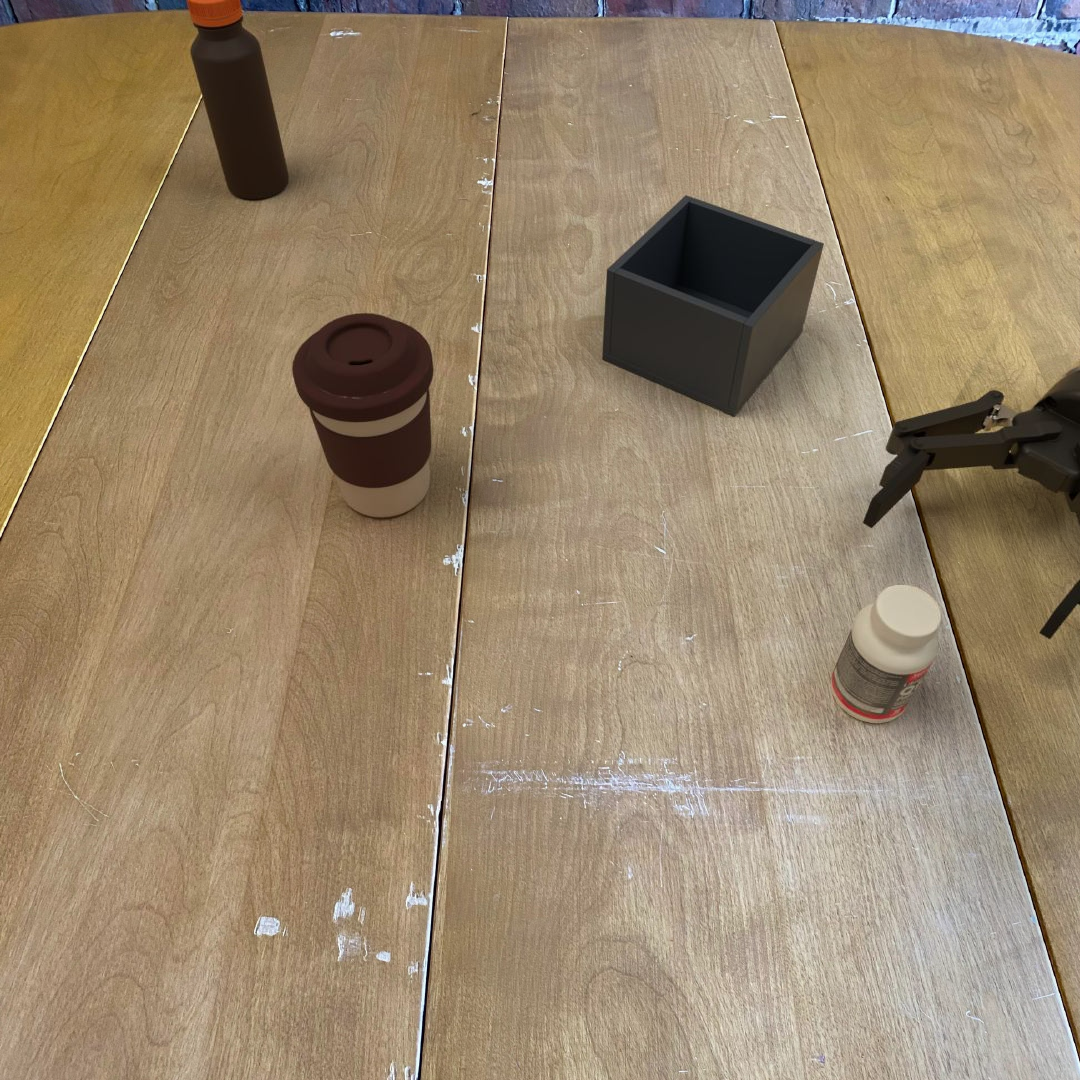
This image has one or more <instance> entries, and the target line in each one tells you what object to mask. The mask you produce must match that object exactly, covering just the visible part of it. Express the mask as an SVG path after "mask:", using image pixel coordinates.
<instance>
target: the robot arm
mask: <svg viewBox="0 0 1080 1080" xmlns="http://www.w3.org/2000/svg"><path fill="white" fill-rule="evenodd" d="M1004 399H1005V395H1004V394H1003V392H1002V391H1000V390H997V389H991V390H988V391H987V392H986V393H984V394H983V395H982V396H980V397H979V398H978V399H977V400H973V401H970V402H969V401H968V402H966V403H962V404H959V405H954V406H951V407H947V408H943V409H940V410H936V411H932V412H928V413H924V414H920V415H917V416H913V417H910V418H909V417H908V418H906V419H902V420H897V421H896V422H895V423H894V424H893V426H892V429H891V432H890V434H889V437H888V440H887V443H886V445H885V450H886V452H887V453H888V454H889V455H892V456H893V455H894V456H896V457H894V458H893V459H892V460H891V461H890V462H889V463H888V464H887V465H886V466H885V467H884V470H883V473H882V475H881V478H880V480H879V484H878V485H879V486H880V487H882V488H881V489H880V490H879V491H878V492H877V493H875V494H874V495H873V497H872V498H871V500H870V503H869V505H868V508H867V510H866V513H865V515H864V519H862V524H863V525H865V526H867V528H868V527H869V529H873V528H874V527H875V526H876V525H877V524H878V523H879V522H880V521H881V520H882V519H883V518H884V517H885V516H886V515H887V514H888V513H889V512H890V511H891V510H892V509H893V508H894V507H895V506H897V504H898V503H899V502H900V501H901V500H902V499H903V498H904V497H905V496H906V495H907V494H908V493H909V492H910V491H911V490H913V488H914V487H915V486H916V485H917V484H918V483H919V482H920V480H921V479H922V476H923V474H924V472H926V471H936V470H937V471H938V470H952V469H953V470H954V469H964V468H965V469H966V468H979V467H980V468H981V467H991V468H992V469H993V470H996V471H999V470H1011V469H1012V470H1013V469H1017V474H1019V475H1021V476H1022V477H1024V478H1027V479H1028V480H1032V481H1035V482H1037V483H1039V484H1040V485H1041V486H1043V487H1044V488H1045V489H1046V490H1048V491H1050V492H1052V493H1053V494H1055V495H1057V494H1058V493H1061V494H1064V497H1065V500H1066V503H1067V505H1068V508H1069V511H1070V513H1071V514H1075V516H1076V519H1077V522H1078V525H1079V526H1080V358H1079V359H1078V360H1077V361H1076V362H1075V363H1073V365H1072V366H1071V367H1070V368H1069V369H1068V370H1067V371H1066V372H1065V373H1064V374H1063V375H1062V376H1061V377H1060V378H1059V380H1058V381H1057V382H1055V383H1054V384H1053V386H1051V387H1050V389H1048V391H1047V392H1046V393H1045V394H1044V395H1043V396H1042V397H1041V398H1040V399H1039V400H1038V401H1036V403H1035V404H1034V405H1033V406H1032V407H1031V408H1029V410H1025V411H1021V412H1016V411H1015V410H1012V409H1011V407H1008V406H1007V405H1005V404H1003V401H1004ZM997 427H1000V429H998V430H997V431H991V430H992V429H994V428H997ZM982 430H983V432H980V431H982ZM1077 606H1080V578H1079V579H1078V580H1077V582H1076V583H1075V584H1074V585H1073V587H1072V588H1071V589H1070V590H1069V592H1068V593H1067V594H1066V595H1065V597H1064V598H1063V599H1062V600H1061V602H1060V603H1059V604H1058V606H1056V608H1054V610H1053V612H1052V614H1051V615H1050V616H1049V618H1048V620H1046V622H1045V623H1044V625H1043V626H1042V628H1041V629H1040V631H1039V632H1038V633H1039V634H1040V635H1042V636H1043V637H1044V638H1046V639H1048V640H1051V639H1052V637H1053V636H1054V635H1055V634H1056V632H1057V631H1058V630H1059V628H1060V627H1061V626H1062V625H1063V624H1064V623H1065V621H1066V620H1067V619H1068V617H1069V616H1070V615H1071V614H1072V612H1074V609H1075V608H1076V607H1077Z"/></svg>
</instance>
